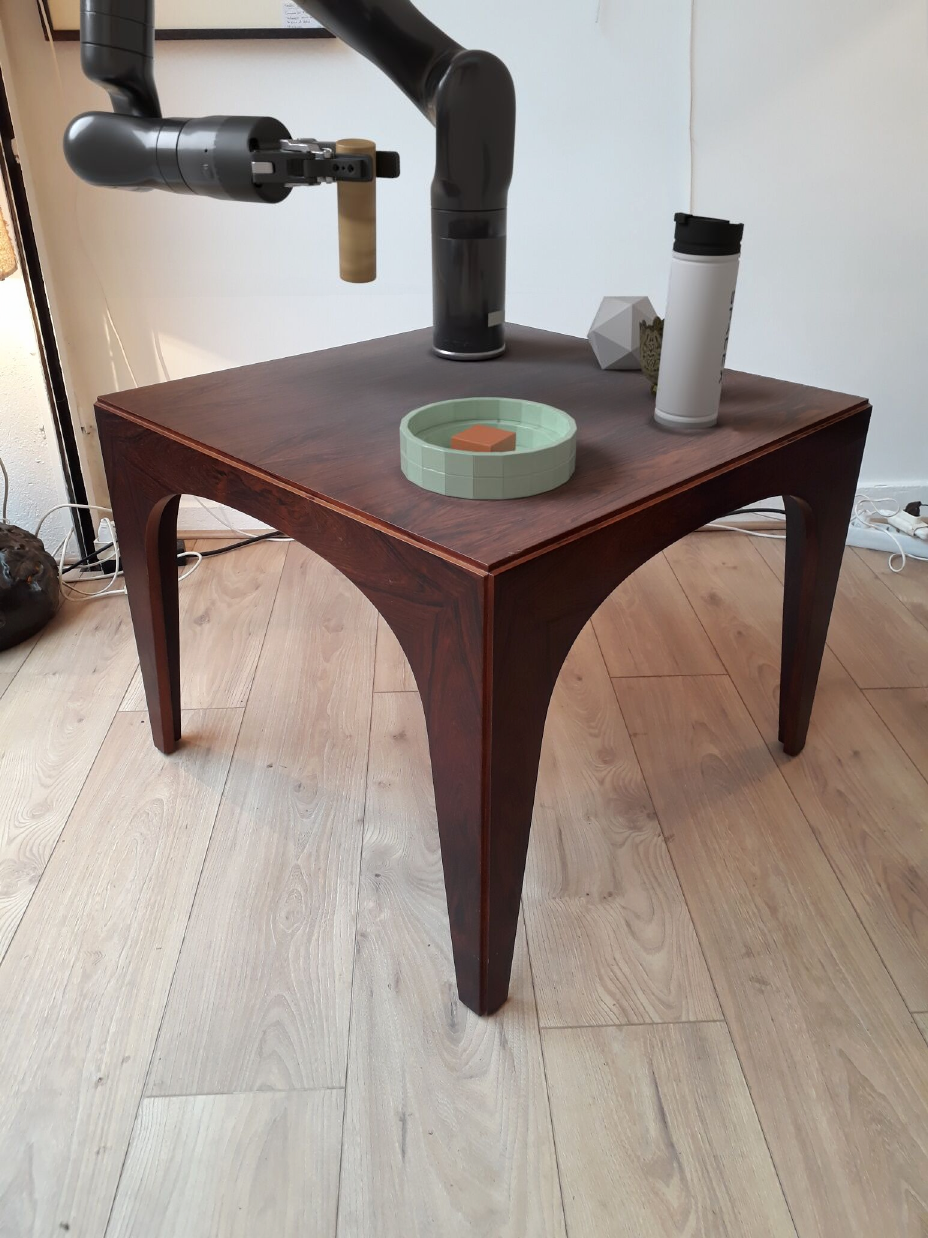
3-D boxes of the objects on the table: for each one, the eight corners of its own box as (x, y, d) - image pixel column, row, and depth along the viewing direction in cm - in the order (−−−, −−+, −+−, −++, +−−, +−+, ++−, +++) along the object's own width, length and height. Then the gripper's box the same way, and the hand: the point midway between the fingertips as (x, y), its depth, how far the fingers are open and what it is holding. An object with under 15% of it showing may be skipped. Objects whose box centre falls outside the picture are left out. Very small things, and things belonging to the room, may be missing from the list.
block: (476, 467, 81) (476, 423, 79) (515, 476, 79) (516, 432, 77) (451, 481, 78) (451, 436, 76) (490, 491, 76) (491, 446, 74)
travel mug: (639, 418, 95) (660, 209, 84) (693, 411, 97) (720, 206, 86) (671, 437, 90) (697, 217, 79) (728, 429, 92) (760, 214, 81)
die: (640, 386, 107) (687, 310, 106) (576, 344, 106) (622, 268, 105) (626, 391, 115) (670, 321, 114) (567, 353, 115) (610, 282, 113)
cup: (667, 410, 97) (676, 334, 93) (618, 394, 102) (625, 321, 98) (714, 398, 101) (724, 324, 97) (664, 382, 106) (672, 312, 102)
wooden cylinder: (354, 268, 91) (352, 136, 84) (383, 276, 90) (383, 142, 82) (332, 277, 89) (327, 142, 81) (361, 286, 88) (359, 149, 80)
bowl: (437, 435, 90) (436, 390, 88) (589, 453, 86) (593, 406, 84) (374, 492, 78) (371, 442, 75) (549, 516, 73) (552, 464, 71)
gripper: (179, 117, 82) (336, 121, 74) (279, 113, 92) (424, 116, 85) (192, 208, 85) (342, 221, 78) (286, 194, 96) (426, 204, 89)
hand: (384, 166), depth 82 cm, fingers closed on wooden cylinder, 3 cm apart
